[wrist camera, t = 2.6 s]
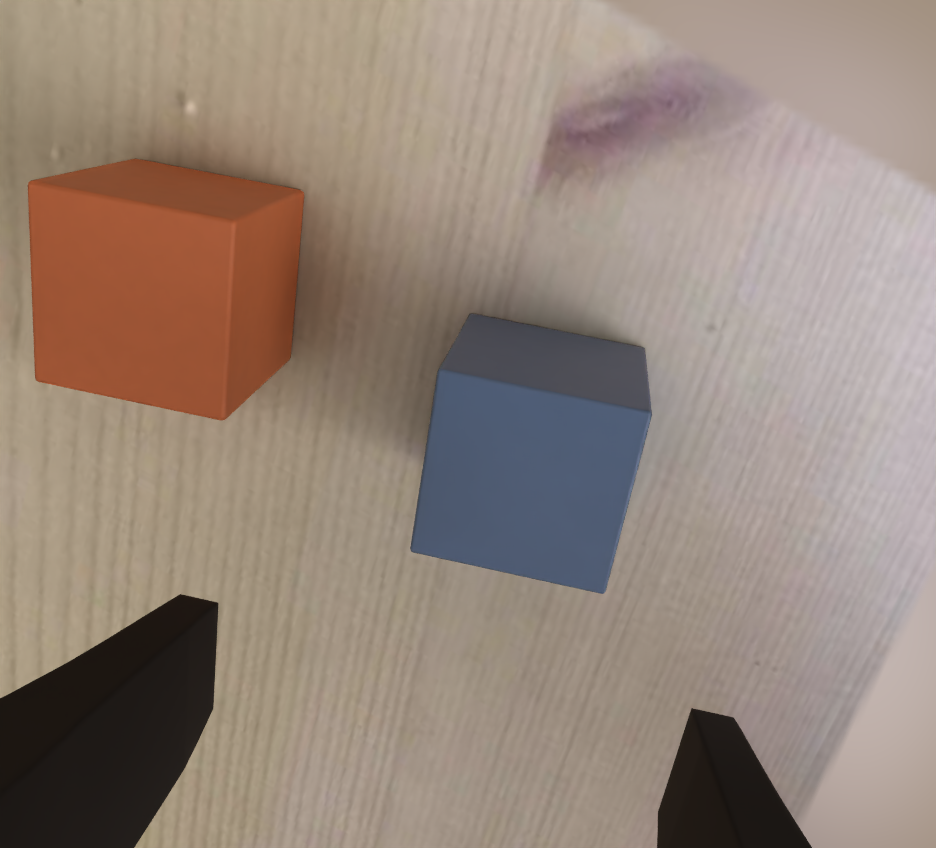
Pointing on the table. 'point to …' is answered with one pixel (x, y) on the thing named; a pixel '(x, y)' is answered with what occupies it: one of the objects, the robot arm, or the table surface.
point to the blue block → (532, 452)
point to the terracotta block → (163, 283)
